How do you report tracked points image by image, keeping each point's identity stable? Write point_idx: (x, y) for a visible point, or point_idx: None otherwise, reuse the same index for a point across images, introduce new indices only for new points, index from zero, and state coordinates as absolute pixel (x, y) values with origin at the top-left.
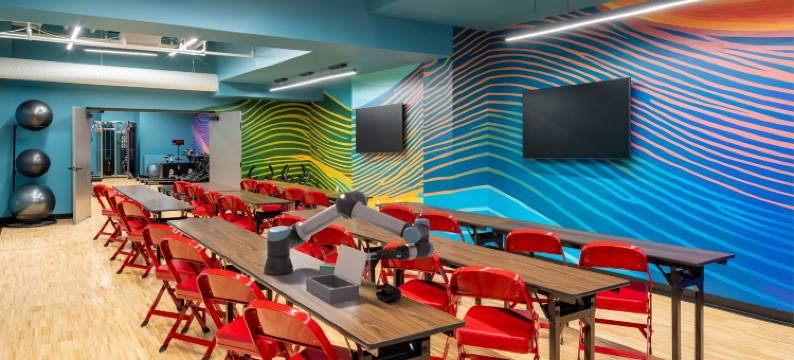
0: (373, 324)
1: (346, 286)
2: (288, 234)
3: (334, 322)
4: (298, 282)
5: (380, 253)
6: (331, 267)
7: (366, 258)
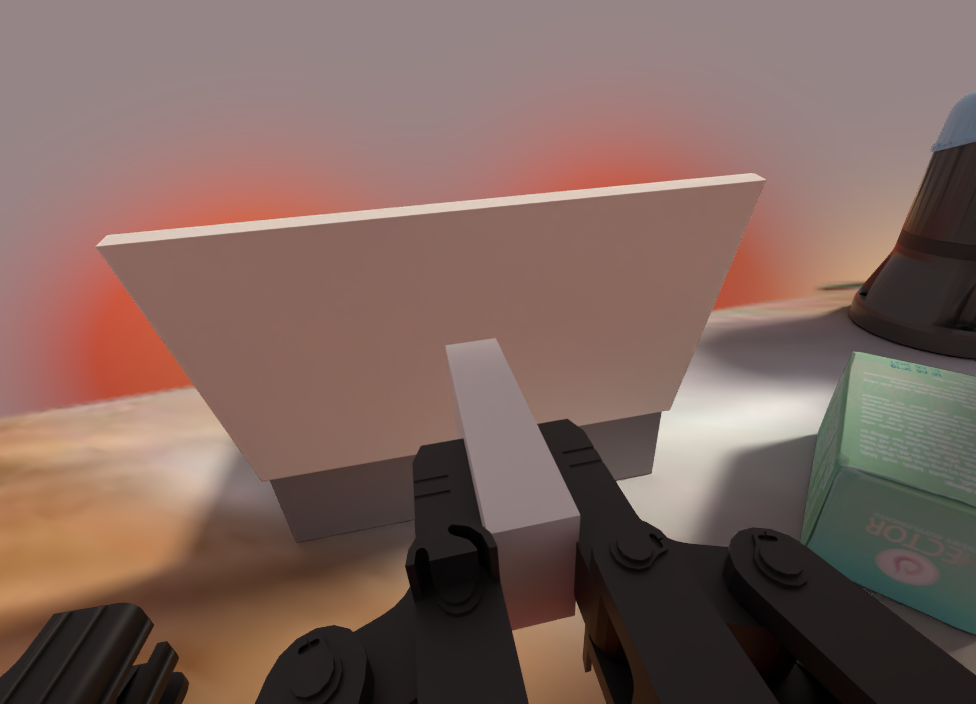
0: None
1: None
2: None
3: (131, 397)
4: (731, 364)
5: (451, 670)
6: (843, 400)
7: (137, 303)
